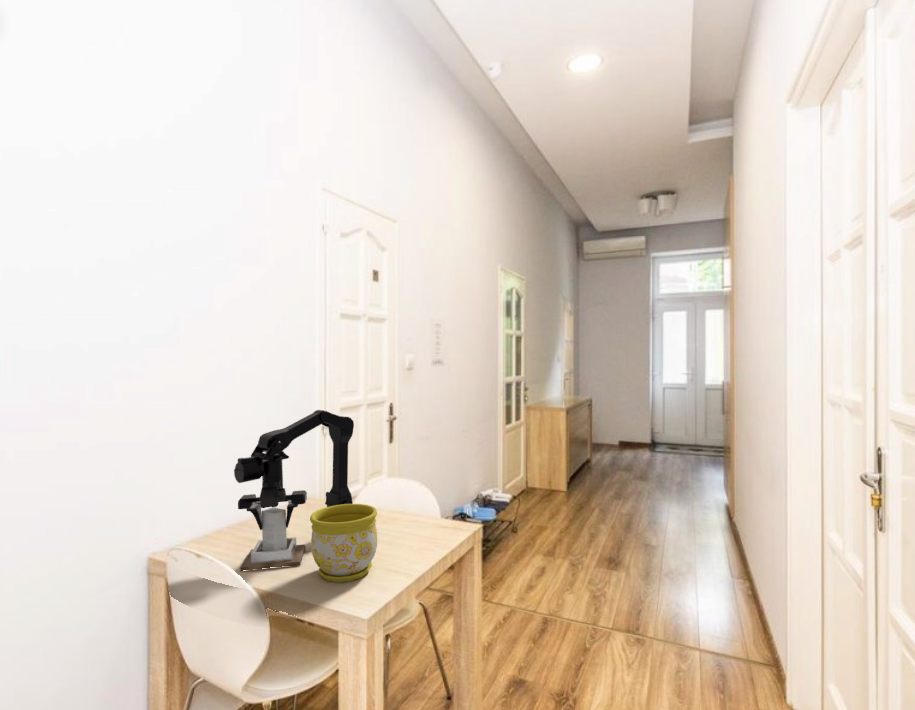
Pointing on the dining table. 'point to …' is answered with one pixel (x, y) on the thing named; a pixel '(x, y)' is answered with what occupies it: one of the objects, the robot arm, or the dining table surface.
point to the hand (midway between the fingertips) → (274, 528)
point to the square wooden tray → (294, 562)
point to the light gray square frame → (273, 553)
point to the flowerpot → (344, 541)
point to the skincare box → (274, 529)
